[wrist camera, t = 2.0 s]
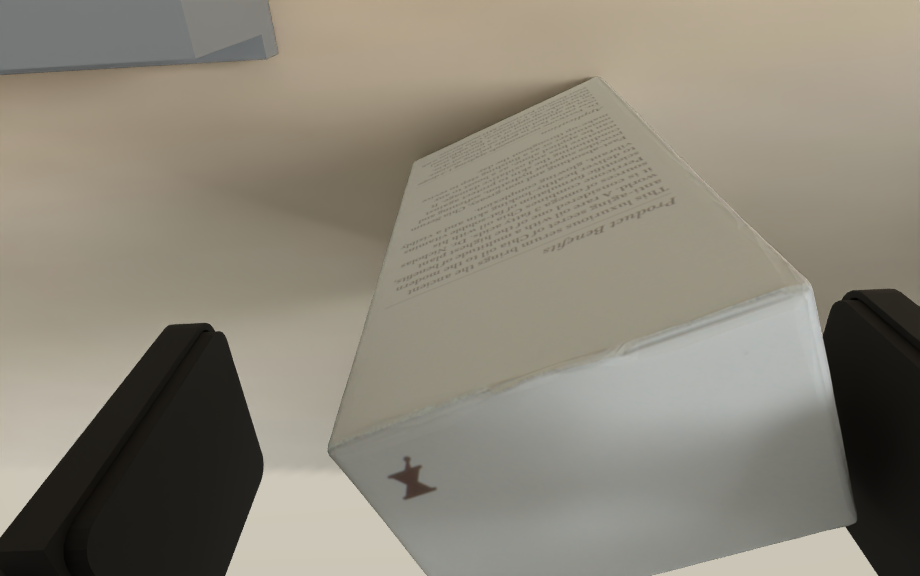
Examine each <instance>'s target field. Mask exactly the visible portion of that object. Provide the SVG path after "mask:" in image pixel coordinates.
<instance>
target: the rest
mask: <svg viewBox="0 0 920 576" xmlns="http://www.w3.org/2000/svg"><path fill="white" fill-rule="evenodd" d="M276 54H278V49H277V44H276V39H275V34H274V29H273V24H272V19H271V14H270V9H269V4H268V0H0V75H7V74H24V73H41V72H58V71H75V70H92V69H109V68H126V67H143V66H160V65H177V64H194V63H211V62H228V61H245V60H262V59H268V58H270V57H272V56H274V55H276Z"/></svg>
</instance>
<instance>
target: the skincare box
mask: <svg viewBox="0 0 920 576" xmlns="http://www.w3.org/2000/svg"><path fill="white" fill-rule="evenodd" d="M328 453H329V456H330V457H331V458H332V459H333V460H334V461H335V462H336V463H337V465H338V466H339V467H340V468H341V469H342V471H343V472H344V473H345V474H346V475H347V477H348V478H349V479H350V480H351V481H352V482H353V484H354V485H355V486H356V487H357V489H358V490H359V491H360V492H361V494H362V495H363V496H364V497H365V498H366V500H367V501H368V502H369V503H370V505H371V506H372V507H373V508H374V509H375V511H376V512H377V513H378V514H379V516H380V517H381V518H382V519H383V521H384V522H385V523H386V524H387V526H388V527H389V528H390V529H391V531H392V532H393V533H394V534H395V536H396V537H397V538H398V539H399V541H400V542H401V543H402V545H403V546H404V547H405V549H406V550H407V551H408V552H409V554H410V555H411V556H412V557H413V559H414V560H415V561H416V562H417V564H418V565H419V566H420V567H421V569H422V570H423V571H424V573H425V574H426V575H427V576H652V575H656V574H660V573H663V572H668V571H671V570H676V569H679V568H683V567H687V566H691V565H695V564H698V563H702V562H706V561H710V560H714V559H718V558H722V557H726V556H730V555H733V554H737V553H741V552H745V551H749V550H753V549H756V548H760V547H764V546H768V545H772V544H776V543H780V542H783V541H787V540H792V539H796V538H800V537H803V536H807V535H811V534H815V533H819V532H822V531H826V530H831V529H836V528H840V527H845V526H849V525H852V524H854V523H856V521H857V511H856V507H855V503H854V499H853V493H852V488H851V482H850V477H849V471H848V466H847V461H846V455H845V450H844V445H843V440H842V434H841V429H840V424H839V419H838V414H837V409H836V404H835V399H834V393H833V387H832V382H831V376H830V371H829V366H828V361H827V356H826V351H825V346H824V341H823V336H822V331H821V326H820V321H819V316H818V311H817V306H816V301H815V296H814V291H813V288H812V285H811V284H810V282H809V281H808V280H807V279H806V278H805V277H804V276H803V275H802V274H801V273H800V272H798V271H797V270H796V269H795V268H794V267H793V266H792V265H791V264H790V263H789V262H788V261H787V260H786V259H785V258H784V257H783V256H782V255H781V254H780V253H779V252H778V251H776V250H775V249H774V248H773V247H772V246H771V245H770V244H769V243H768V242H766V241H765V240H764V239H763V238H762V237H761V236H760V235H759V234H758V233H757V232H756V231H755V230H754V229H753V228H752V227H751V226H750V225H749V224H748V223H746V222H745V221H744V220H743V219H742V218H741V217H740V216H739V215H738V214H737V213H736V212H735V211H734V210H733V209H732V207H731V206H730V205H728V204H727V203H726V202H725V201H724V200H723V199H722V198H721V197H720V196H719V195H718V194H717V193H716V192H715V191H714V190H713V189H712V188H711V187H710V186H709V185H708V184H707V183H706V182H705V181H704V180H703V179H702V178H701V177H700V176H699V175H698V174H697V173H696V172H695V171H694V170H693V169H692V168H691V167H690V166H689V165H688V164H687V163H686V162H685V161H684V160H683V159H682V158H681V157H680V156H679V155H678V154H677V153H676V152H675V151H674V150H673V149H672V148H671V147H670V146H669V145H668V144H667V143H666V142H665V141H664V140H663V139H662V138H661V137H660V136H659V135H658V134H657V133H656V132H655V131H654V130H653V129H652V128H651V127H650V126H649V125H648V124H647V123H646V122H645V121H644V120H643V119H642V118H641V117H640V116H639V115H638V114H637V113H636V112H635V111H634V110H633V109H632V108H631V107H630V105H629V104H627V103H626V102H625V101H624V100H623V99H622V98H621V97H620V96H619V95H618V94H617V93H616V92H615V91H614V89H613V88H612V87H610V86H609V85H608V84H607V82H606V81H604V80H603V79H602V78H600V77H594V78H592V79H590V80H588V81H586V82H584V83H582V84H579V85H577V86H575V87H573V88H571V89H569V90H566V91H564V92H562V93H560V94H558V95H556V96H554V97H551V98H549V99H547V100H545V101H543V102H541V103H538V104H536V105H534V106H532V107H530V108H528V109H526V110H523V111H521V112H519V113H517V114H515V115H513V116H510V117H508V118H506V119H504V120H502V121H500V122H498V123H496V124H494V125H491V126H489V127H487V128H485V129H483V130H481V131H478V132H476V133H474V134H472V135H470V136H468V137H466V138H464V139H462V140H460V141H457V142H455V143H453V144H451V145H449V146H447V147H444V148H442V149H440V150H438V151H436V152H434V153H432V154H429V155H427V156H425V157H423V158H421V159H418V160H417V161H415V162H414V163H413V165H412V169H411V172H410V176H409V178H408V182H407V185H406V188H405V192H404V195H403V198H402V202H401V206H400V209H399V212H398V216H397V219H396V222H395V225H394V229H393V232H392V235H391V239H390V242H389V245H388V248H387V252H386V255H385V258H384V262H383V265H382V269H381V272H380V275H379V278H378V282H377V285H376V289H375V292H374V295H373V299H372V302H371V306H370V309H369V312H368V315H367V318H366V322H365V325H364V329H363V333H362V336H361V339H360V342H359V346H358V349H357V352H356V355H355V359H354V362H353V365H352V369H351V372H350V375H349V378H348V382H347V385H346V388H345V391H344V394H343V397H342V401H341V404H340V407H339V411H338V414H337V417H336V421H335V424H334V428H333V432H332V435H331V438H330V441H329V444H328Z"/></svg>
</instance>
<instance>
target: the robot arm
mask: <svg viewBox="0 0 920 576" xmlns="http://www.w3.org/2000/svg"><path fill="white" fill-rule="evenodd" d="M823 341H824V346H825V351H826V356H827V361H828V366H829V371H830V376H831V382H832V387H833V393H834V399H835V404H836V409H837V414H838V419H839V424H840V429H841V434H842V440H843V445H844V450H845V455H846V461H847V466H848V471H849V477H850V482H851V488H852V493H853V499H854V503H855V507H856V511H857V521H856V523H854V524H852V525H849V526H845V527H846V528H847V530H848V531H849V532H850V534H851V535H852V537H853V539H854V540H855V542H856V543H857V545H858V546H859V547H860V549H861V550H862V552H863V553H864V555H865V556H866V558H867V559H868V561H869V562H870V564H871V565H872V567H873V568H874V570H875V571H876V573H877V574H878V576H920V307H919V306H918V305H917V304H915V303H914V302H913V301H911V300H910V299H909V298H908V297H906V296H905V295H904V294H902V293H901V292H899V291H897V290H895V289H873V290H853V291H850V292H848V293H847V294H846V295H845V296H844V297H843V299H842V301H838V302H835V304H834V305H833V306H832V308H831V310H830V314H829V317H828V320H827V324H826V327H825V331H824V334H823ZM263 466H264V463H263V456H262V452H261V449H260V446H259V442H258V439H257V436H256V433H255V429H254V426H253V423H252V420H251V416H250V413H249V410H248V407H247V404H246V400H245V397H244V394H243V391H242V387H241V384H240V381H239V378H238V374H237V371H236V368H235V365H234V361H233V358H232V355H231V352H230V349H229V345H228V342H227V339H226V337H225V335H224V334H223V333H222V332H220V331H218V332H215V331H214V328H213V327H212V326H211V325H210V324H208V323H194V324H174V325H168V326H167V327H166V328H165V329H164V330H163V331H162V333H161V334H160V335H159V337H158V338H157V339H156V340H155V342H154V343H153V344H152V345H151V347H150V348H149V349H148V350H147V352H146V353H145V354H144V356H143V357H142V358H141V359H140V361H139V362H138V363H137V364H136V366H135V367H134V368H133V370H132V371H131V372H130V373H129V375H128V376H127V377H126V378H125V380H124V381H123V382H122V384H121V385H120V386H119V387H118V389H117V390H116V391H115V392H114V394H113V395H112V396H111V397H110V399H109V400H108V401H107V403H106V404H105V405H104V406H103V408H102V409H101V410H100V411H99V413H98V414H97V415H96V417H95V418H94V419H93V420H92V422H91V423H90V424H89V425H88V427H87V428H86V429H85V431H84V432H83V433H82V434H81V436H80V437H79V438H78V439H77V441H76V442H75V443H74V444H73V446H72V447H71V448H70V450H69V451H68V452H67V453H66V455H65V456H64V457H63V458H62V460H61V461H60V462H59V464H58V465H57V466H56V467H55V469H54V470H53V471H52V472H51V474H50V475H49V476H48V478H47V479H46V480H45V481H44V483H43V484H42V485H41V486H40V488H39V489H38V490H37V492H36V493H35V494H34V495H33V497H32V498H31V499H30V500H29V502H28V503H27V504H26V506H25V507H24V508H23V509H22V511H21V512H20V513H19V514H18V516H17V517H16V518H15V520H14V521H13V522H12V524H11V525H10V526H9V527H8V528H7V530H6V531H5V532H4V534H3V535H2V536H1V537H0V576H225V575H226V572H227V569H228V566H229V564H230V561H231V559H232V556H233V553H234V551H235V548H236V546H237V543H238V540H239V537H240V535H241V532H242V530H243V527H244V524H245V522H246V519H247V516H248V514H249V511H250V509H251V506H252V503H253V501H254V498H255V495H256V493H257V490H258V487H259V485H260V482H261V479H262V475H263Z"/></svg>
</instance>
